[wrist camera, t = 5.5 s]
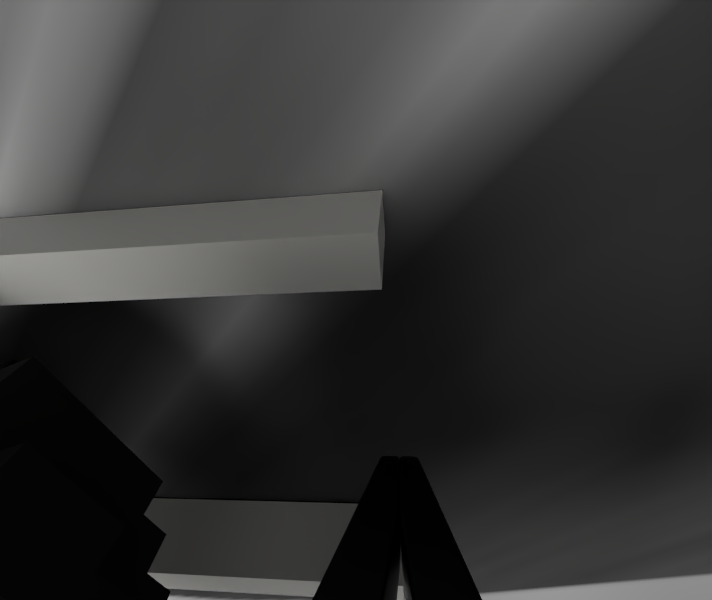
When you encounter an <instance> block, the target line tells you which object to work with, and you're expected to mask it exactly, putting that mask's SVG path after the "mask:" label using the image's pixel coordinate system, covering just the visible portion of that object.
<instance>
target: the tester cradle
mask: <svg viewBox="0 0 712 600" xmlns="http://www.w3.org/2000/svg"><path fill="white" fill-rule="evenodd" d="M384 246H385V224H384V208H383V192H382V190H378V191H364V192H351V193H337V194H324V195H310V196H297V197H283V198H270V199H256V200H243V201H229V202H216V203H202V204H189V205H175V206H162V207H148V208H135V209H121V210H108V211H94V212H81V213H67V214H54V215H40V216H27V217H13V218H0V306H3V305H26V304H50V303H74V302H97V301H121V300H145V299H168V298H192V297H216V296H240V295H263V294H287V293H311V292H334V291H358V290H382V278H383V262H384ZM357 505H358V504H353V503H315V502H278V501H241V500H203V499H166V498H153V500H152V501H151V503H150V505H149V507H148V508H147V510H146V512H145V514H144V515H145V516H146V517H147V518H148V519H150V520H151V521H152V522H153V523H154V524H155V525H156V526H158V527H159V528H160V529H161V530H162V531H163V532H164V533H166V536H165V538H164V540H163V542H162V545H161V547H160V549H159V551H158V553H157V555H156V557H155V559H154V561H153V563H152V565H151V567H150V569H149V571H148V573H147V574H149V575H150V576H151V577H153V578H154V579H155V580H156V581H158V582H159V583H160V584H162V585H163V586H164V587H165V588H169V589H186V590H203V591H220V592H238V593H255V594H272V595H290V596H307V597H314V595H315V593H316V591H317V589H318V587H319V585H320V582H321V580H322V578H323V576H324V574H325V572H326V570H327V568H328V566H329V564H330V562H331V560H332V557H333V555H334V553H335V551H336V549H337V547H338V545H339V543H340V541H341V539H342V537H343V535H344V533H345V530H346V528H347V526H348V524H349V522H350V520H351V518H352V516H353V514H354V512H355V510H356V508H357ZM397 600H404V580H403V571H402V560H401V559H400V572H399V582H398V592H397Z"/></svg>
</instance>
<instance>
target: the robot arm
mask: <svg viewBox="0 0 712 600" xmlns="http://www.w3.org/2000/svg"><path fill="white" fill-rule="evenodd" d="M400 559H401V560H402V571H403V580H404V589H405V597H406V600H482V599H481V596H480V594H479V592H478V590H477V588H476V585H475V583H474V581H473V579H472V576H471V574H470V572H469V570H468V568H467V565H466V563H465V561H464V559H463V557H462V554H461V552H460V550H459V548H458V545H457V543H456V541H455V539H454V537H453V534H452V532H451V530H450V528H449V525H448V523H447V521H446V519H445V517H444V514H443V512H442V510H441V508H440V505H439V503H438V501H437V499H436V497H435V494H434V492H433V490H432V488H431V486H430V483H429V481H428V479H427V477H426V474H425V472H424V470H423V468H422V466H421V463H420V461H419V459H418V458H417V457H412V456H402V457H400V461H399V457H397V456H382V457H381V458H380V460H379V462H378V464H377V466H376V468H375V470H374V472H373V474H372V476H371V478H370V480H369V483H368V485H367V487H366V489H365V491H364V493H363V495H362V497H361V499H360V501H359V503H358V505H357V508H356V510H355V512H354V514H353V516H352V518H351V520H350V522H349V524H348V526H347V528H346V530H345V533H344V535H343V537H342V539H341V541H340V543H339V545H338V547H337V549H336V551H335V553H334V555H333V557H332V560H331V562H330V564H329V566H328V568H327V570H326V572H325V574H324V576H323V578H322V580H321V582H320V585H319V587H318V589H317V591H316V593H315V595H314V597H313V599H312V600H397V592H398V582H399V572H400Z"/></svg>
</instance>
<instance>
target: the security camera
mask: <svg viewBox="0 0 712 600" xmlns="http://www.w3.org/2000/svg"><path fill="white" fill-rule="evenodd" d="M162 482H163V481H162V480H161V479H160V478H159V477H158V476H157V475H156V474H155V473H154V472H152V471H151V470H150V469H149V468H148V467H147V466H146V465H145V464H144V463H143V462H142V461H141V460H140V459H139V458H138V457H137V456H136V455H135V454H134V453H133V452H132V451H131V450H130V449H129V448H128V447H127V446H126V445H125V444H123V443H122V442H121V441H120V440H119V439H118V438H117V437H116V436H115V435H114V434H113V433H112V432H111V431H110V430H109V429H108V428H107V427H106V426H105V425H104V424H103V423H102V422H101V421H100V420H99V419H98V418H97V417H96V416H94V415H93V414H92V413H91V412H90V411H89V410H88V409H87V408H86V407H85V406H84V405H83V404H82V403H81V402H80V401H79V400H78V399H77V398H76V397H75V396H74V395H73V394H72V393H71V392H70V391H69V390H68V389H67V388H66V387H64V386H63V385H62V384H61V383H60V382H59V381H58V380H57V379H56V378H55V377H54V376H53V375H52V374H51V373H50V372H49V371H48V370H47V369H46V368H45V367H44V366H43V365H42V364H41V363H40V362H39V361H38V360H37V359H35V358H34V357H30V358H28V359H25V360H23V361H20V362H18V363H17V362H16V361H15V360H14V359H13V360H11V361H9V362H6V363H4V364H1V365H0V600H167V599H168V596H169V594H170V591H169V590H168V589H167V588H165V587H164V586H163V585H162V584H160V583H159V582H158V581H156V580H155V579H154V578H153V577H151V576H150V575H149V574H147V573H148V571H149V569H150V567H151V565H152V563H153V561H154V559H155V557H156V555H157V553H158V551H159V549H160V547H161V545H162V542H163V540H164V538H165V536H166V533H164V532H163V531H162V530H161V529H160V528H159V527H158V526H156V525H155V524H154V523H153V522H152V521H151V520H150V519H148V518H147V517H146V516H145V515H144V514H145V512H146V510H147V508H148V507H149V505H150V503H151V501H152V500H153V498H154V496H155V494H156V492H157V491H158V489H159V487H160V485H161V484H162Z"/></svg>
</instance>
